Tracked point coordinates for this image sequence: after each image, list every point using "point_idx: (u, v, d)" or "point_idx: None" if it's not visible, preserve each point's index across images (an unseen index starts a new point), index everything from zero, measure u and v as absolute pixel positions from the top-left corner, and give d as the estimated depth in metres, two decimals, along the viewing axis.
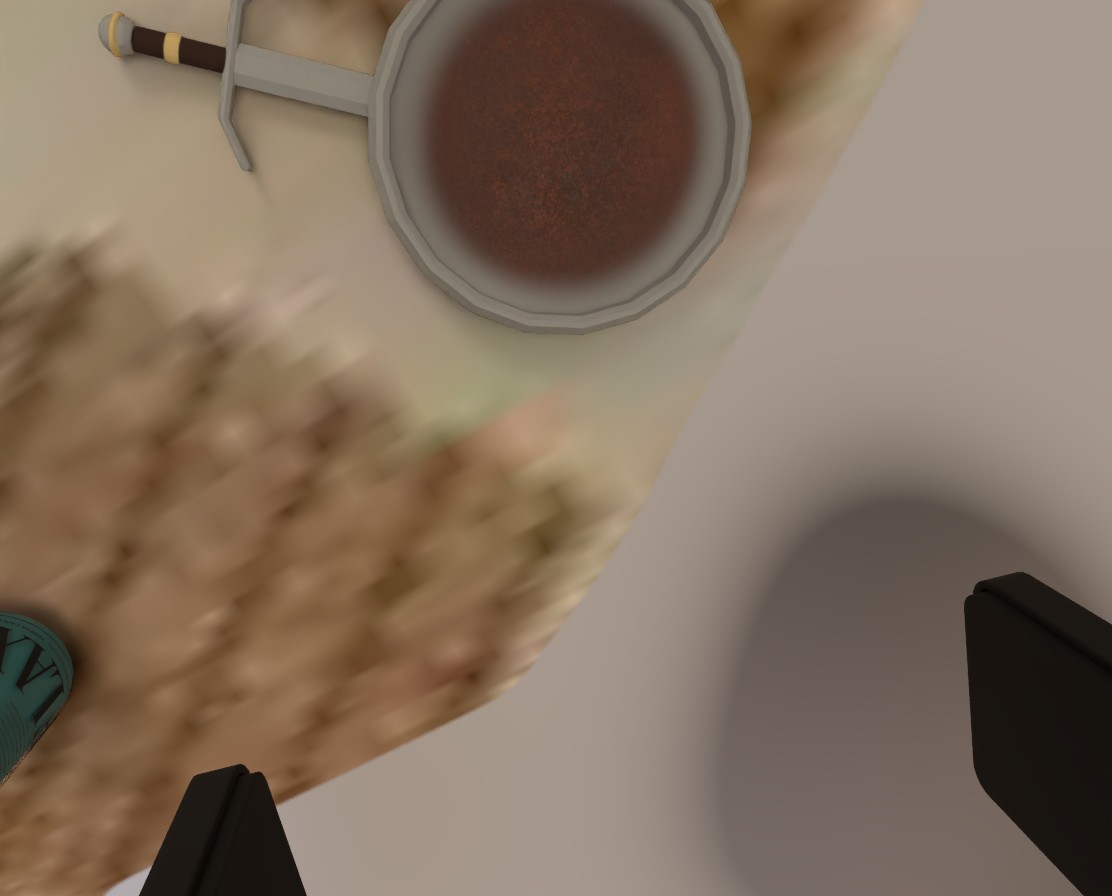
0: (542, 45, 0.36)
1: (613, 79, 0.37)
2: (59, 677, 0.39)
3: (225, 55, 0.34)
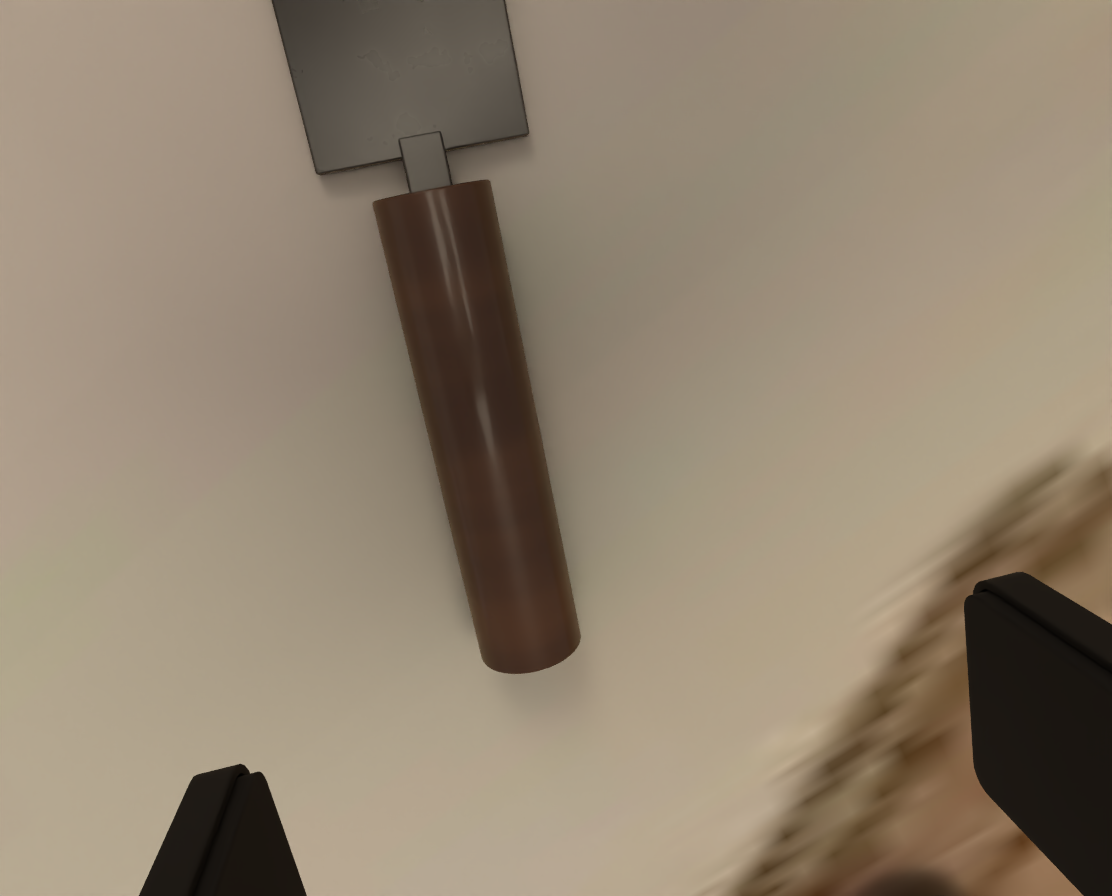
0: None
1: None
2: None
3: None
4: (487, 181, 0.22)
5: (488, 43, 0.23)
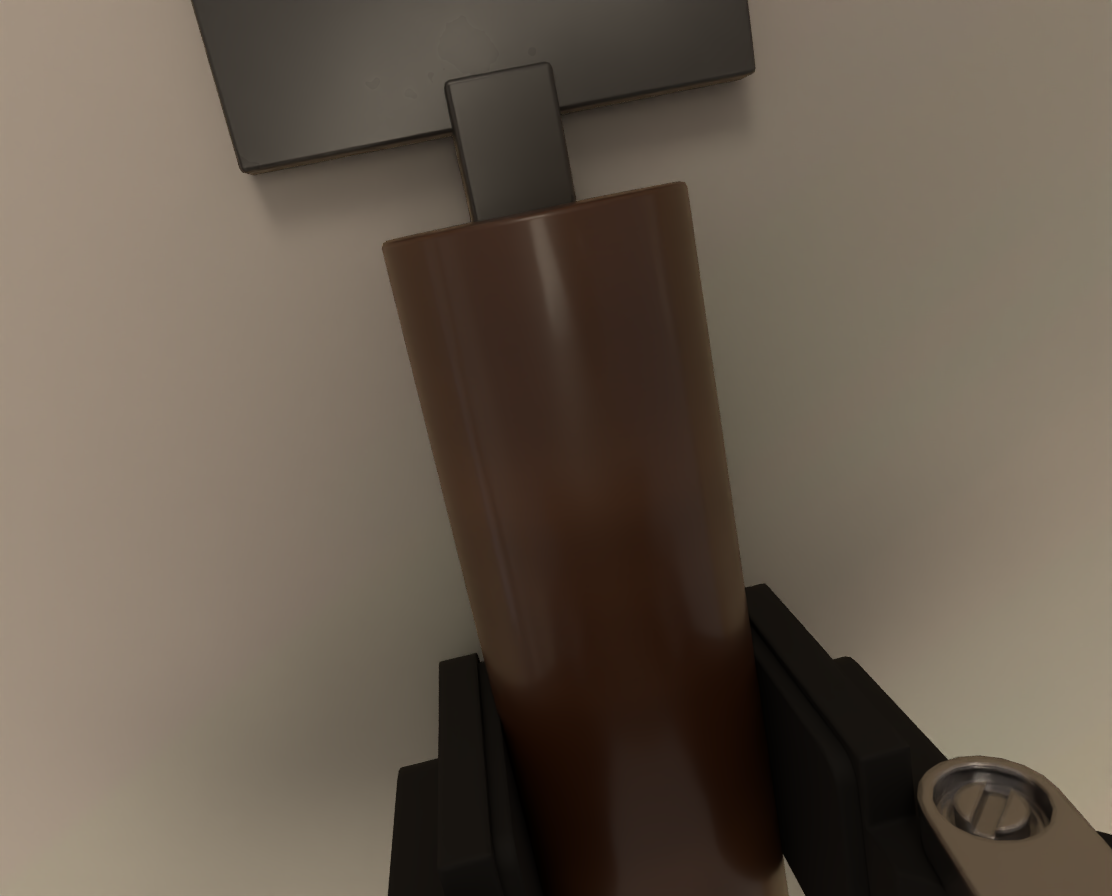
0: None
1: None
2: None
3: None
4: (686, 186, 0.08)
5: None
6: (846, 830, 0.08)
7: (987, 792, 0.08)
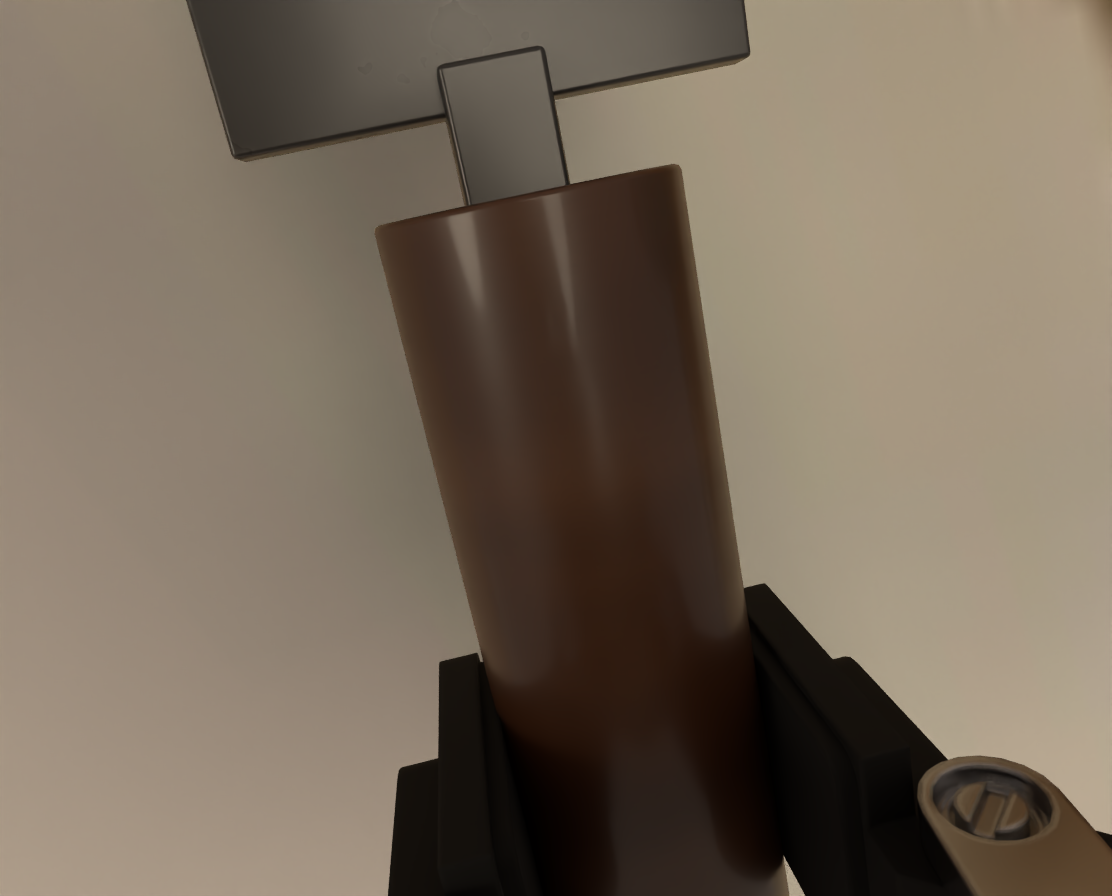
0: None
1: None
2: None
3: None
4: (680, 168, 0.08)
5: None
6: (846, 830, 0.08)
7: (987, 792, 0.08)
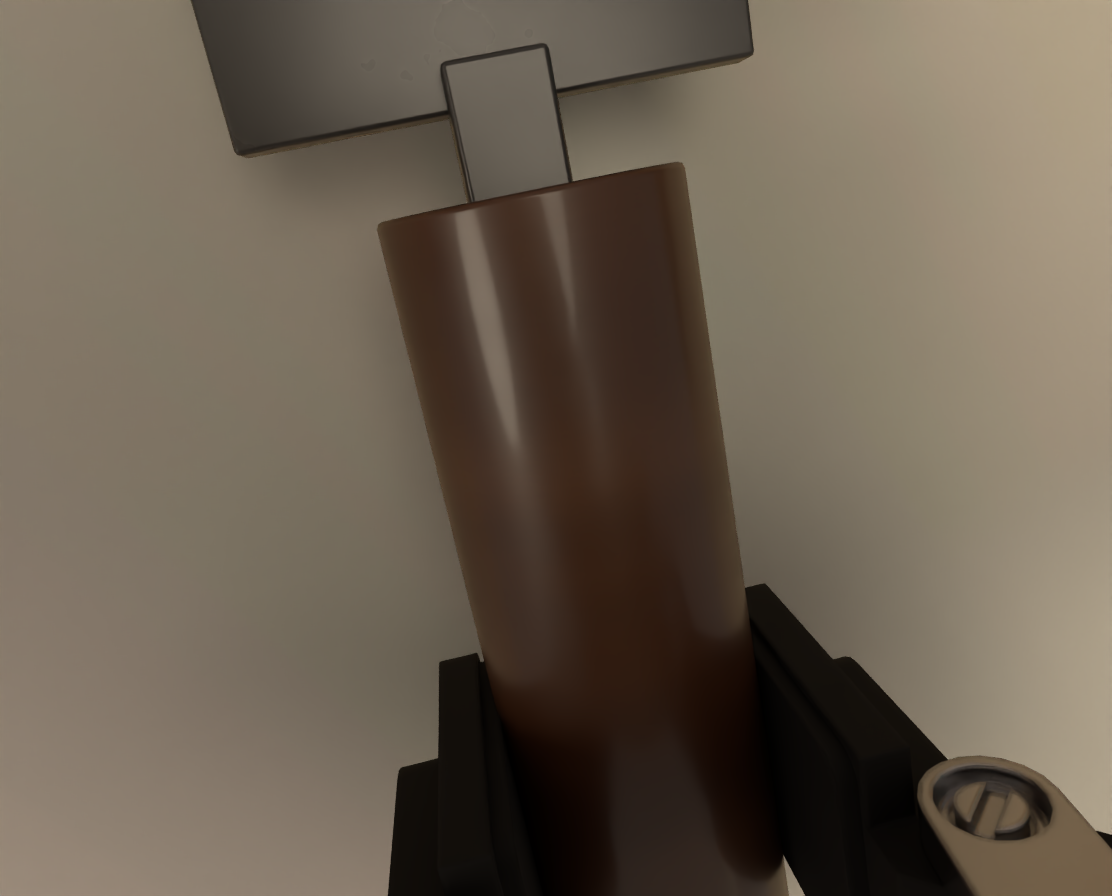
0: None
1: None
2: None
3: None
4: (683, 166, 0.08)
5: None
6: (846, 830, 0.08)
7: (987, 792, 0.08)
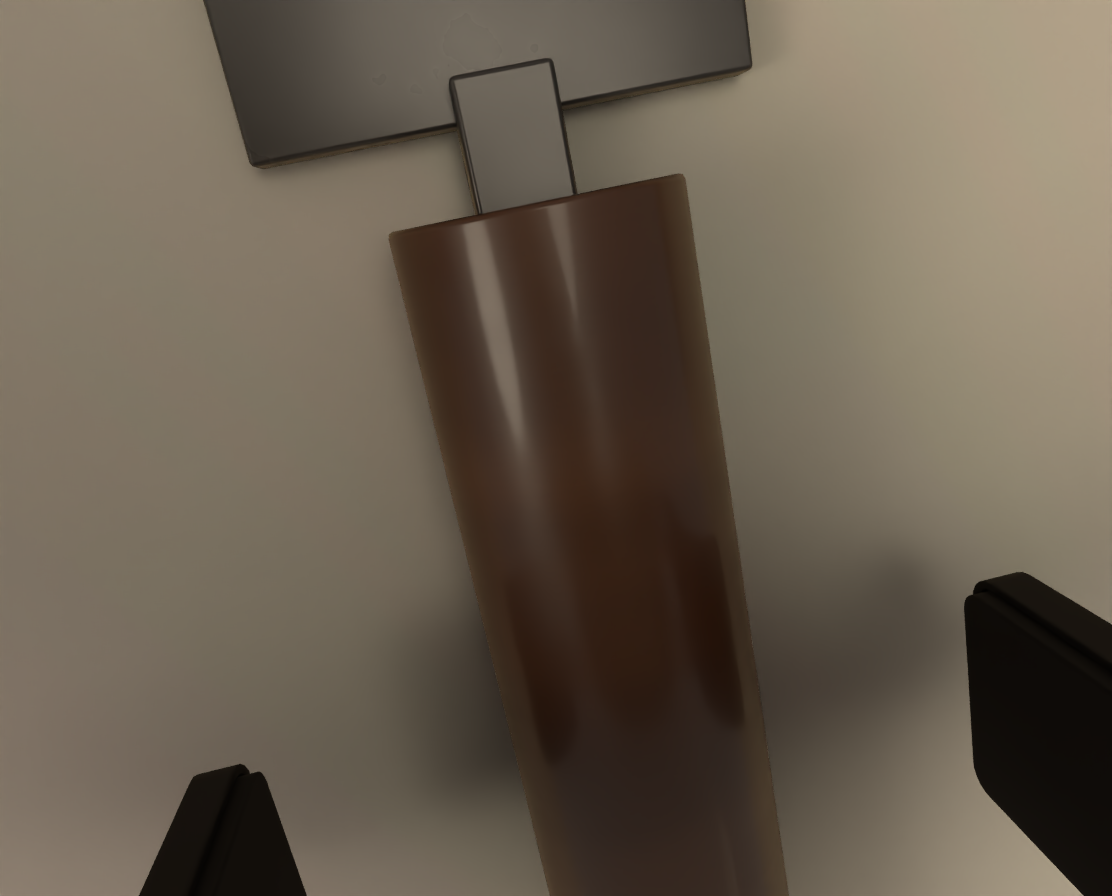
0: None
1: None
2: None
3: None
4: (684, 178, 0.09)
5: None
6: None
7: None
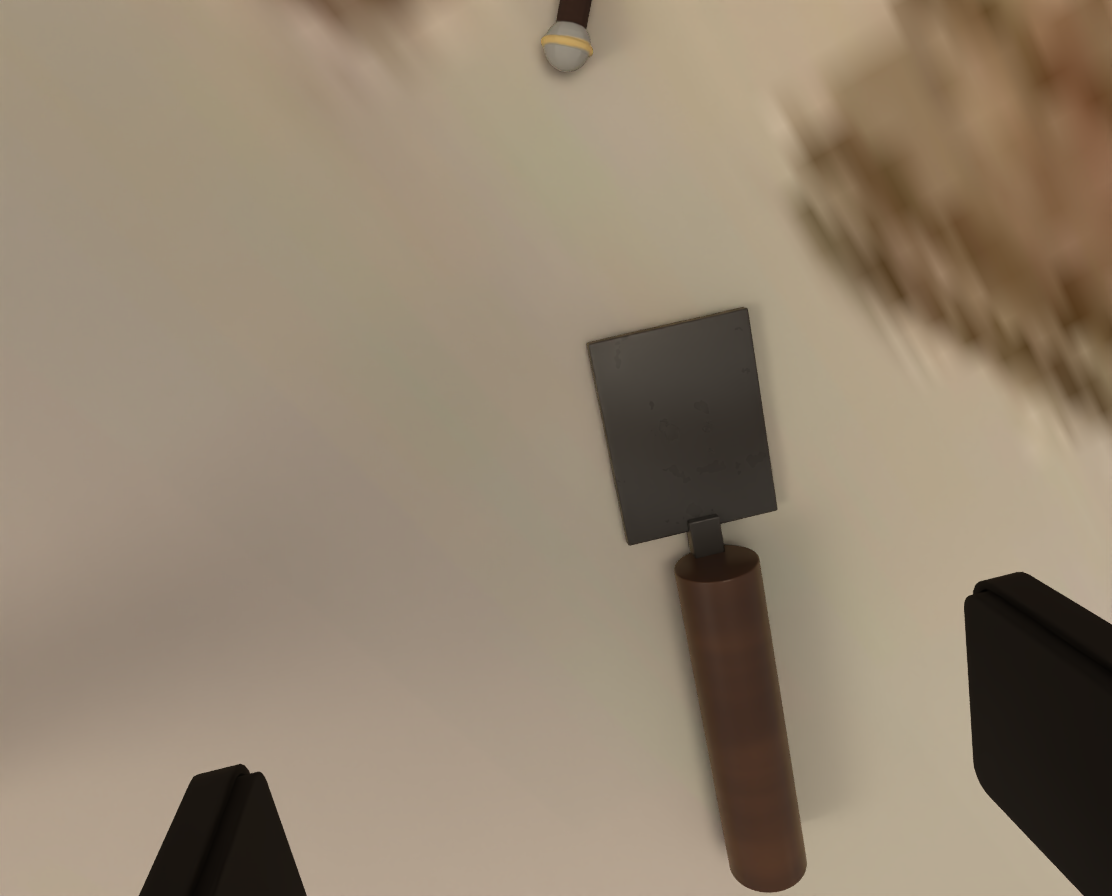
0: None
1: None
2: None
3: None
4: None
5: (752, 455, 0.32)
6: None
7: None
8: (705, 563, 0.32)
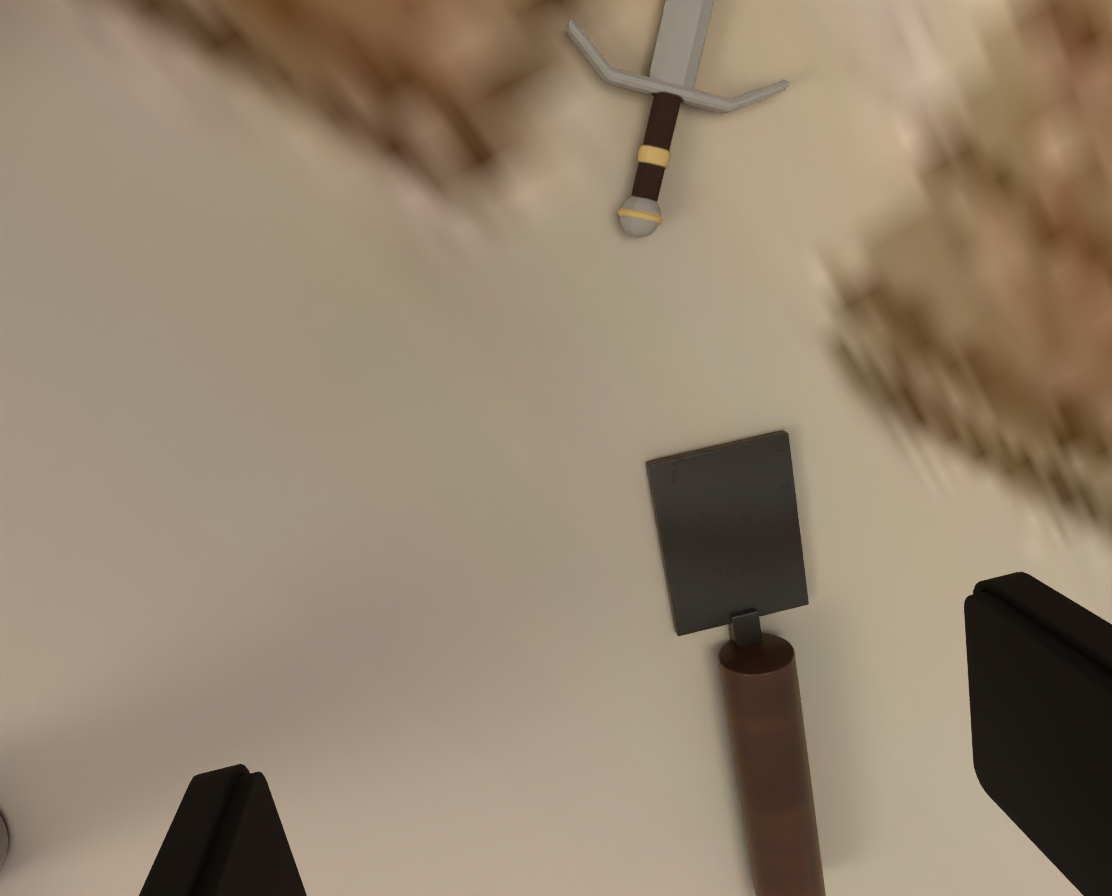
0: None
1: None
2: None
3: (666, 93, 0.30)
4: None
5: (788, 557, 0.36)
6: None
7: None
8: (746, 653, 0.36)
